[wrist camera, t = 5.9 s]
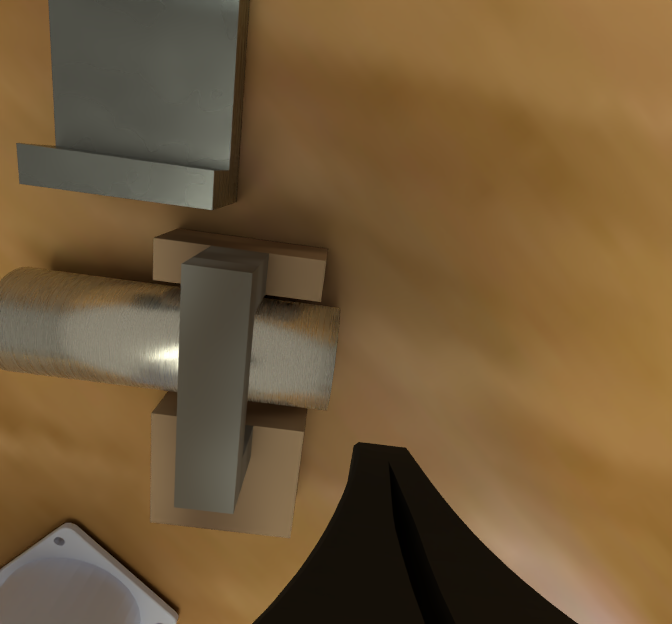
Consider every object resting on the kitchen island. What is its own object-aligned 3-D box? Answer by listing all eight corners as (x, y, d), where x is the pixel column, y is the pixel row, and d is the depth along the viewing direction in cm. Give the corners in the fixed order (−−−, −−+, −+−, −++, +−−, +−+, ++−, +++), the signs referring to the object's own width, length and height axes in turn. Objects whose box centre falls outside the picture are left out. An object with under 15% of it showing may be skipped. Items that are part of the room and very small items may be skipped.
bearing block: (328, 248, 18) (322, 282, 13) (295, 497, 22) (281, 604, 16) (178, 228, 18) (109, 253, 13) (171, 483, 22) (115, 586, 16)
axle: (339, 302, 19) (341, 316, 15) (326, 391, 20) (326, 427, 16) (56, 264, 19) (-16, 269, 15) (51, 357, 20) (-19, 384, 16)
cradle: (251, -33, 15) (226, -89, 12) (236, 202, 18) (211, 210, 14) (72, -61, 15) (-5, -127, 12) (81, 180, 17) (19, 183, 14)
